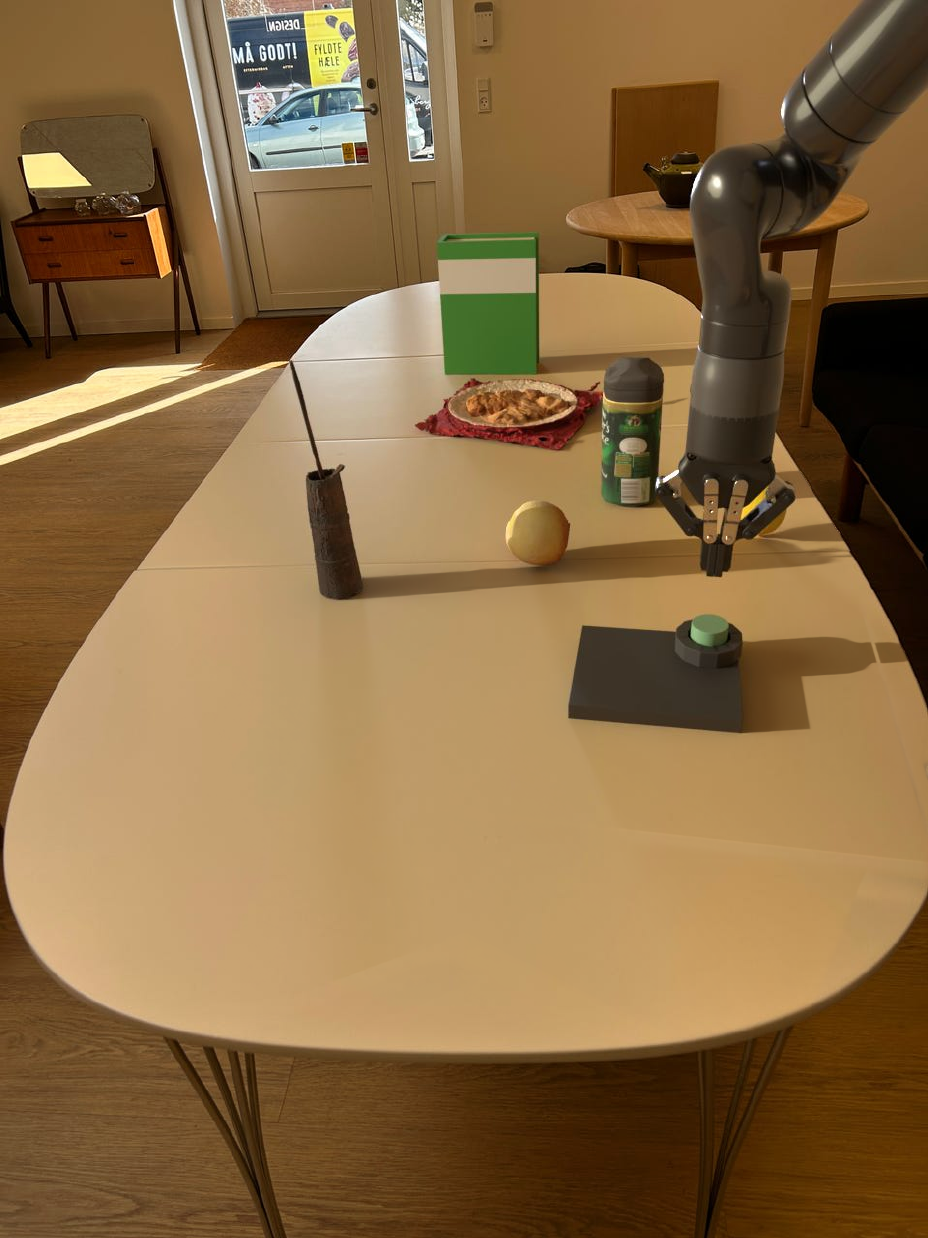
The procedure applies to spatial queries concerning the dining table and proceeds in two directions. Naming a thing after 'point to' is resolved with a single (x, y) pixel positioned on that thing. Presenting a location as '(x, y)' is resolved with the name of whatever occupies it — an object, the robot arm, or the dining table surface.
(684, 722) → the dark grey button base
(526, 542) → the fruit
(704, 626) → the button
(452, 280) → the hardback book
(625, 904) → the dining table surface
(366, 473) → the dining table surface
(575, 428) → the plate with food
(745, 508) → the lemon
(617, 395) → the coffee jar
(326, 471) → the butter churn
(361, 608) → the dining table surface
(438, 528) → the dining table surface
